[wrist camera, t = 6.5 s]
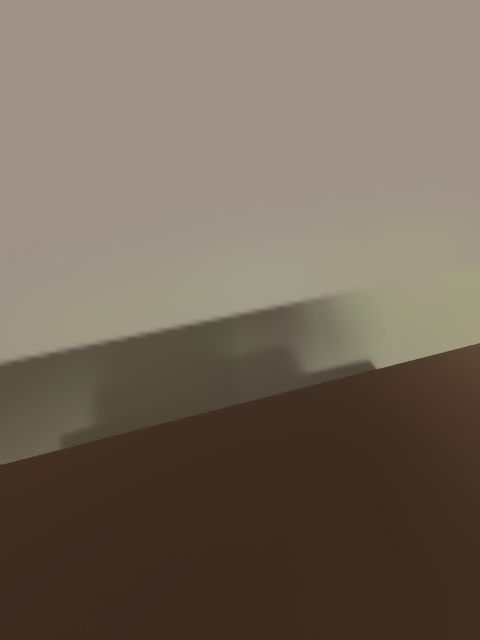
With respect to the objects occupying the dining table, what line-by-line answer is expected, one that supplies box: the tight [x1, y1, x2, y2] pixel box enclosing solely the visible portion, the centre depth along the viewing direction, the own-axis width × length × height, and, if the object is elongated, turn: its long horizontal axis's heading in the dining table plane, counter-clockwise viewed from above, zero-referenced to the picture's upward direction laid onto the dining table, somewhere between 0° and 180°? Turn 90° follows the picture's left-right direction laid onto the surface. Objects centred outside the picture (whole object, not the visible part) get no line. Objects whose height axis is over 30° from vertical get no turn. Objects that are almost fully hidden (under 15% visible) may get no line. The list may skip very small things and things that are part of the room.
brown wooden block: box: [0, 343, 480, 640], centre depth 7 cm, size 4×4×12 cm
